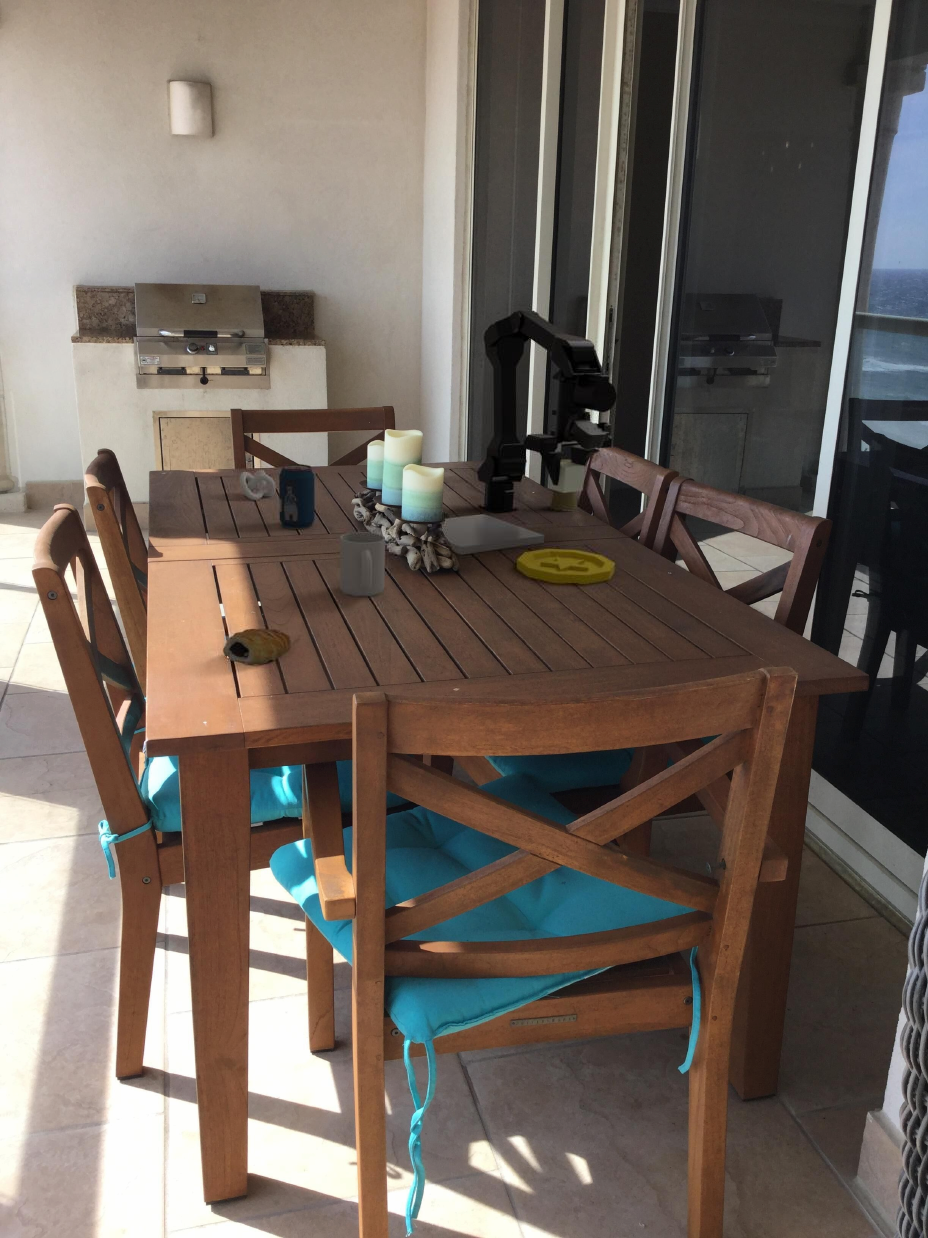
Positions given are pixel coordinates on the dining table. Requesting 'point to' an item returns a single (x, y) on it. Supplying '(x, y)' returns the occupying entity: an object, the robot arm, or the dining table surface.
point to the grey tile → (486, 534)
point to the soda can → (296, 496)
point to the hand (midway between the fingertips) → (565, 484)
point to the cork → (564, 499)
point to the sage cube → (569, 478)
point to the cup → (362, 563)
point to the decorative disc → (565, 566)
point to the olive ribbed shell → (257, 646)
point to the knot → (256, 485)
